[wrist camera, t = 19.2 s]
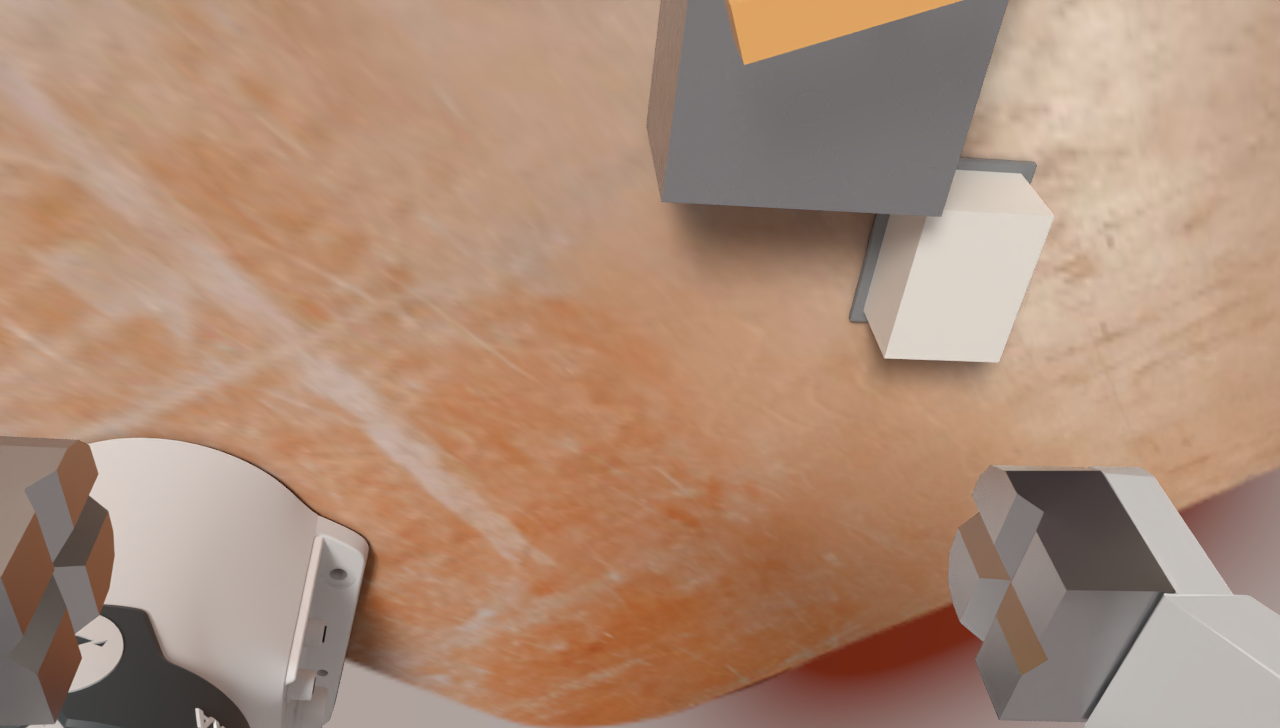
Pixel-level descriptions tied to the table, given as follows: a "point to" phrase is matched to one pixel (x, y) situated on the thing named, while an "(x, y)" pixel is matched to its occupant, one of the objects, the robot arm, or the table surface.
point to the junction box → (818, 111)
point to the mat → (882, 219)
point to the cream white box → (958, 271)
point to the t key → (809, 21)
